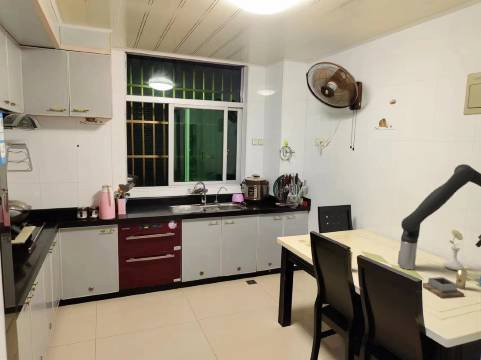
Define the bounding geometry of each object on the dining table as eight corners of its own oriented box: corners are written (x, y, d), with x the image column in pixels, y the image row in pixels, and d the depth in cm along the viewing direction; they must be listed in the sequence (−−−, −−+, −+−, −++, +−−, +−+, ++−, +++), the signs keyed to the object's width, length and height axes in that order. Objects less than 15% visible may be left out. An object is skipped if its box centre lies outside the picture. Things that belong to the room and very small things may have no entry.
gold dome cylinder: (453, 286, 181) (455, 269, 179) (459, 285, 182) (462, 268, 180) (460, 289, 176) (462, 272, 175) (466, 289, 177) (469, 271, 176)
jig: (420, 285, 180) (421, 276, 179) (442, 284, 182) (443, 275, 182) (441, 298, 166) (442, 288, 165) (463, 296, 169) (465, 286, 168)
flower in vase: (467, 273, 200) (472, 234, 197) (446, 270, 202) (451, 232, 199) (457, 265, 213) (462, 228, 210) (438, 263, 215) (442, 226, 212)
